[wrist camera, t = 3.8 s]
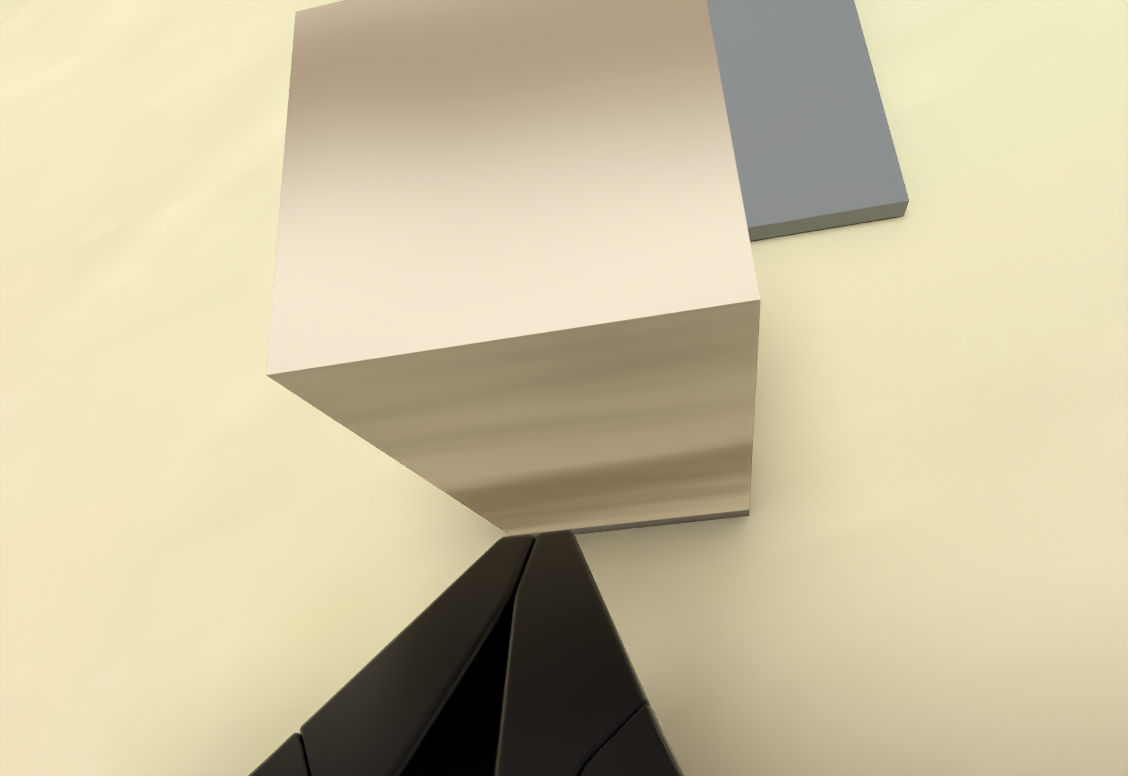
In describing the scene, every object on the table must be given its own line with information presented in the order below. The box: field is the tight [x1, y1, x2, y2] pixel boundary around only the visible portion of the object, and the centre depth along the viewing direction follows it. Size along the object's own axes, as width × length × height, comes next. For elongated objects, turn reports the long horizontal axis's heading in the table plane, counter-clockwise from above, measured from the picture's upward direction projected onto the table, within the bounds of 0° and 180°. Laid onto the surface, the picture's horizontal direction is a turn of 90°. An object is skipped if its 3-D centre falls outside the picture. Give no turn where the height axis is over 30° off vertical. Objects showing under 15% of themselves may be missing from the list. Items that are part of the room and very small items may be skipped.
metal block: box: [266, 0, 760, 537], centre depth 13 cm, size 5×5×10 cm
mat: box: [707, 0, 909, 241], centre depth 21 cm, size 14×14×1 cm
